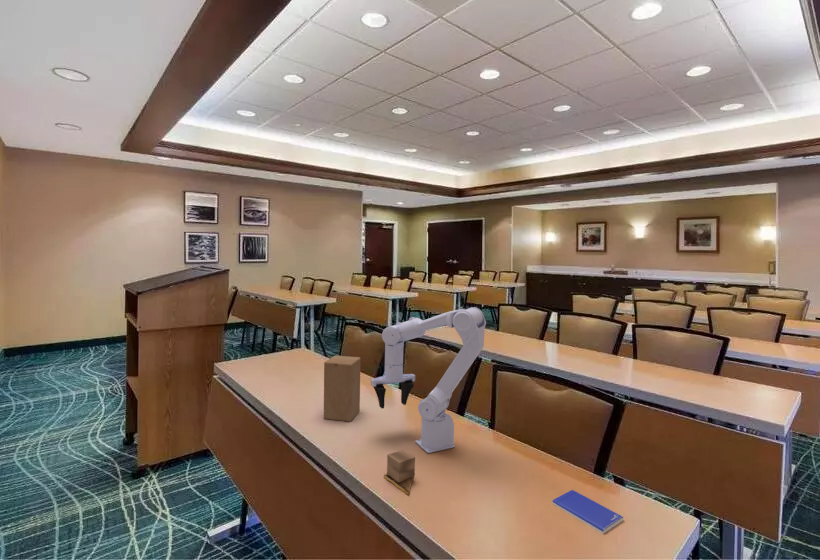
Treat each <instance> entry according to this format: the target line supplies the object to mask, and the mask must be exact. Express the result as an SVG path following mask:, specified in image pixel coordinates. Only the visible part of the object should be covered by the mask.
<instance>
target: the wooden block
mask: <svg viewBox="0 0 820 560" xmlns="http://www.w3.org/2000/svg"><path fill="white" fill-rule="evenodd" d="M323 370H324V371H323V419H324V420H332V421H341V422H342V421H343V422H348V423H349V422H352V420H353V419H354V418H355V417H356V415H358V414H359V412H360V410H361V409H360V408H361V406H360V405H361V357H359V356H346V355H334V356H332V357H331V358H329V359H327V360H325V361H324V362H323Z"/></svg>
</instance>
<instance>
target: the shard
mask: <svg viewBox="0 0 820 560" xmlns="http://www.w3.org/2000/svg"><path fill="white" fill-rule="evenodd" d="M383 478H384V480H387V481H389V482H390V483H392V485H394V486H395V487H396V488H397V489H399V490H400V492H403V493H405V494H406V495H410V490H411V486H412V483H413V480H414V477H411V478H409V479H406V480H404V481H402V482H397V481H396V480H395V479H393V478H392V477H391V476H389V475H388V474H387V472H386V473H384V474H383Z"/></svg>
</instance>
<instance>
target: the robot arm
mask: <svg viewBox="0 0 820 560" xmlns="http://www.w3.org/2000/svg"><path fill="white" fill-rule="evenodd" d="M486 325H487V321H486V318H485V315H484V313H483V312H482V310H481V309H480V308H478V307H473V306H472V307H468V308H467V309H466V308H462V309H460V308H459V309H455V310H450V311H447V312H444V313H440V314H438V315H435V316H432V317H430V318H427V319H421V318H419V317H415V316H412V317H409V318H408V320H406V321H403V322H401V321H397V322H396V323H395V324H394V325H388V326H387V327H386V328H384V329H383V331H382V333H381V338H382V341H383V342H384V345H385V346H384V375H382V376H377V377H375V378H370V386H372V387H373V390H374V391H375V394H376V396H377V400H378V406H379V407H380V409H385V398H386V397H385V396H386V392H387V389H386V388H385V385H391V384H397V383H400V391H401V393H400V394H401V395H400V396H401V397H400V398H401V399H400V401H401V405H403V406H405V405H407V403H408V398H409V395H410V393H411V391H412V389H413V388H414V385H415V383H414V382H416V375H415V374H414V373H404V345H405V344H404V343H405V342H407V341H410V340H413V339H417V338H420V337H423V336H424V335H425V333H426V331H428V330H432V329H435V328H436V329H437V328H439V327H443V326H447V327H448V328H451V329H453V328H454V329H455V330H456V333H457V335H459V336H460V338H461V340H462V344H463V346H462V347H461V348H460V350H459V351H458V352H457V355H456V356H455V357H454V359H453V361H452V362H451V363H450V365H449V366H448V368H447V369H446V371H445V372H444V374H443V375H442V377H441V379H440V380H439V381H438V383H437V384H436V386H435V387H434V388H433V389H432V390H431V391H430V392H429V394H428V395H427V396H426V398H422V399H420V401H419V403H418V404H417V405H418V406H417V410H418V413H419V415H420V417H421V425H420V429H421V430H420V432H421V433H420V439H415V443H416V444H417V445H418V446H419V447H420V448H421V449H423V450H424V452H426V453H427V454H431V453H435V452H439V451H444V450H448V449H452V448H455V447H456V445H455V444H454V443H455V441H454V439H455V437H454V435H455V424H454V420H453V417H452V415H450V414H449V413H446V410H447V409H448V407H449V405H450V399H451V398H452V396H453V392H454V390H455V389H456V388H457V387H458V385H459V383H460V382H461V380H462V379H463V378H464V376H465V375H466V373H467V372H468V370H469V368H471V366H472V365H473V363H474V361H475V360H476V359H477V357H478V355H479V354H480V353H481V352H482V351H483V348H484V345H485V343H484V342H485V329H486Z"/></svg>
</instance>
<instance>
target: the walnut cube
mask: <svg viewBox="0 0 820 560" xmlns="http://www.w3.org/2000/svg"><path fill="white" fill-rule="evenodd" d="M386 459H387V461H386V473H387V474H388V475H389V476H391V477H392V478H393V479H395V480H396V481H397V482H402V481H404V480H406V479H409V478H411V477H413V478H414V477H415V471H416V468H415V467H416V465H415V464H416V457H415V455H412V454H411V453H409V452H407V450H404V449H400V450H398V451H395V452H392V453H389V454H387V458H386Z"/></svg>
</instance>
